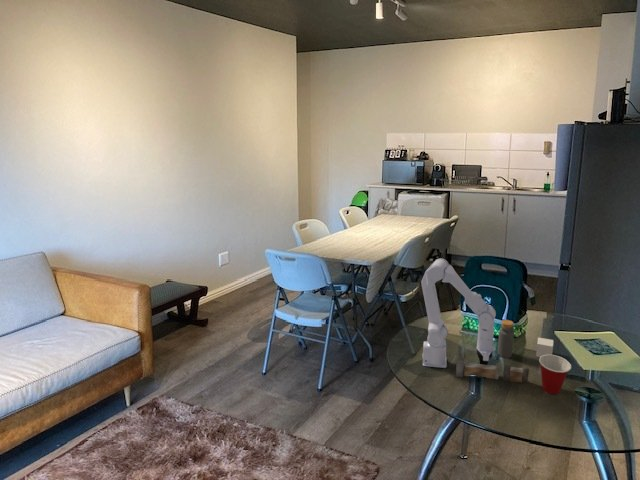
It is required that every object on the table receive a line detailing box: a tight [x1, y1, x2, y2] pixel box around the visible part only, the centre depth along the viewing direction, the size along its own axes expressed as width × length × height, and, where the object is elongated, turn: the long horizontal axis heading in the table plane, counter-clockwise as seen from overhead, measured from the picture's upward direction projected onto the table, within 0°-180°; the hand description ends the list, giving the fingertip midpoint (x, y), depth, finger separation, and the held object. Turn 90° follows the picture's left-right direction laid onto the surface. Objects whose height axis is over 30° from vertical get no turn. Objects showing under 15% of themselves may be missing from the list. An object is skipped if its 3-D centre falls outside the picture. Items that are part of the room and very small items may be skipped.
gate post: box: [455, 359, 465, 378], centre depth 195 cm, size 3×3×6 cm
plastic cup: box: [538, 354, 572, 395], centre depth 182 cm, size 11×11×12 cm
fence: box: [502, 364, 530, 385], centre depth 190 cm, size 9×2×6 cm, turn 76°
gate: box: [463, 362, 500, 380], centre depth 193 cm, size 13×2×5 cm, turn 76°
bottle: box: [497, 319, 515, 359], centre depth 207 cm, size 6×6×15 cm
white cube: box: [535, 337, 554, 358], centre depth 208 cm, size 6×6×6 cm
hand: (483, 367), depth 196 cm, fingers closed
